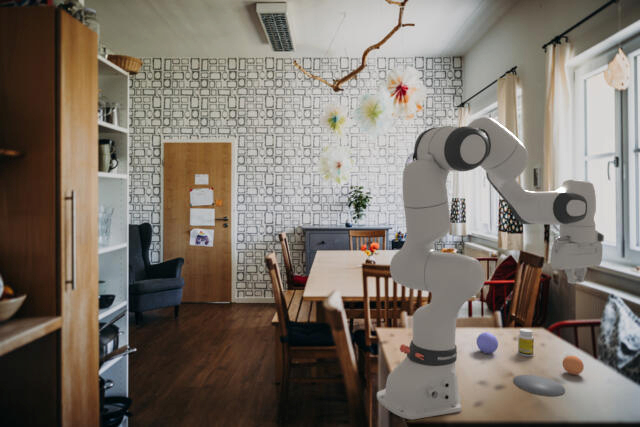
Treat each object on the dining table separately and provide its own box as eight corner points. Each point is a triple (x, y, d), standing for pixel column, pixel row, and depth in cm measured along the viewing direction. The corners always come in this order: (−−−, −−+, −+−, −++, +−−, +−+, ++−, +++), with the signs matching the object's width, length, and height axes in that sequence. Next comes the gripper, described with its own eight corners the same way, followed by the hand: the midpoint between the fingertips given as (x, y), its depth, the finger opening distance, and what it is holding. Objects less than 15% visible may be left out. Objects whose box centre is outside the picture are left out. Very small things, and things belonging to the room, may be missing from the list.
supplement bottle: (535, 357, 134) (535, 332, 134) (520, 356, 135) (520, 331, 135) (530, 352, 139) (531, 328, 139) (516, 351, 140) (516, 327, 140)
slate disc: (546, 400, 105) (546, 399, 105) (503, 380, 116) (503, 380, 116) (574, 389, 111) (575, 389, 111) (531, 372, 122) (531, 371, 122)
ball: (576, 379, 118) (577, 360, 117) (558, 372, 122) (558, 354, 122) (587, 375, 120) (587, 357, 120) (568, 368, 125) (569, 351, 125)
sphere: (493, 349, 141) (494, 330, 141) (500, 357, 134) (501, 336, 134) (473, 348, 142) (474, 329, 142) (479, 356, 135) (480, 335, 135)
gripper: (566, 237, 108) (565, 287, 108) (607, 235, 117) (606, 281, 118) (544, 235, 113) (543, 283, 114) (584, 234, 123) (583, 278, 123)
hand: (575, 282), depth 116 cm, fingers open, 2 cm apart
